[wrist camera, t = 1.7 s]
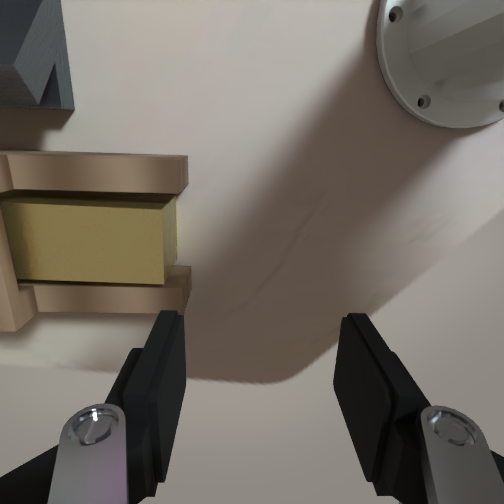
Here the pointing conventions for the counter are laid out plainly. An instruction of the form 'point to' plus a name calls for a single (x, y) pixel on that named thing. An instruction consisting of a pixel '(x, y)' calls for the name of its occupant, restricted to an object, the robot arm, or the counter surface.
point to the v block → (34, 56)
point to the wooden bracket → (88, 179)
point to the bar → (90, 235)
